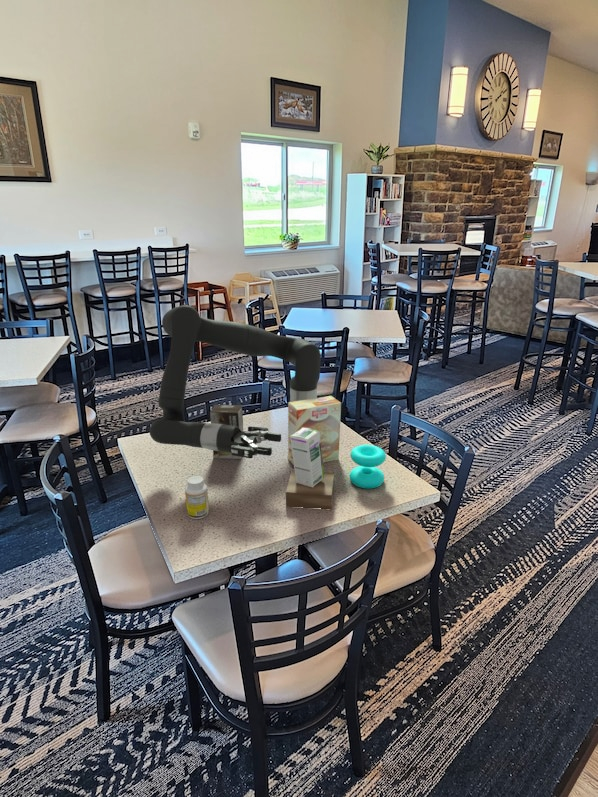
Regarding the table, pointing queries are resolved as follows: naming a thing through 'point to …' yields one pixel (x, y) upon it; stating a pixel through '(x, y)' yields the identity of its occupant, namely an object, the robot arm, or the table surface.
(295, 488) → the walnut riser
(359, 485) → the donuts
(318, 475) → the syrup box
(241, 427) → the coffee box
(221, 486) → the table surface
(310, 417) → the coffeecake box
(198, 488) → the supplement bottle
